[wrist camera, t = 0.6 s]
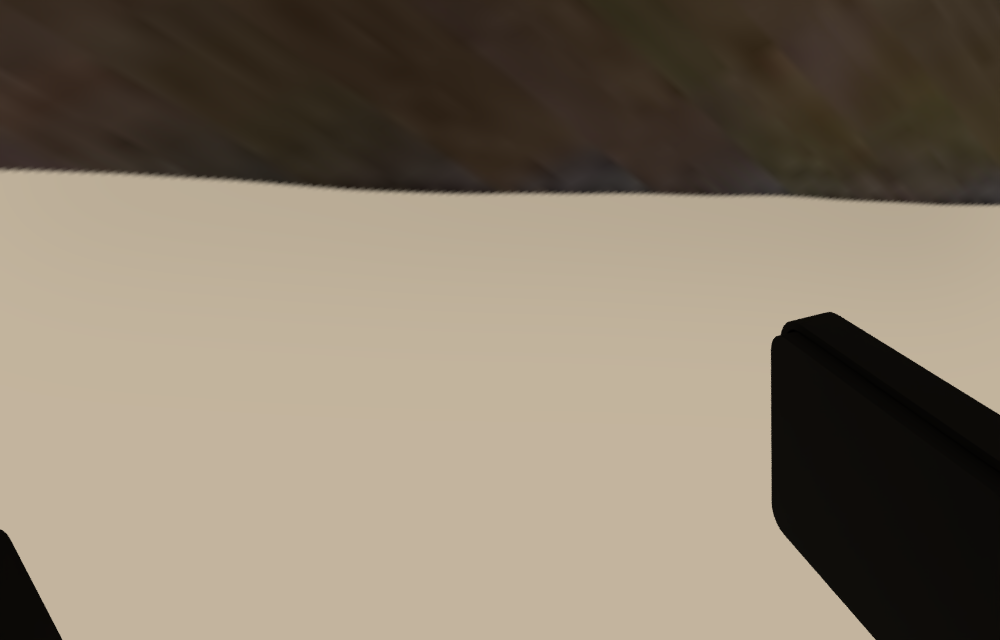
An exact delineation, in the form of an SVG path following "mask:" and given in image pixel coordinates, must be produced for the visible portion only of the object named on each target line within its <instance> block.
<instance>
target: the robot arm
mask: <svg viewBox="0 0 1000 640" xmlns="http://www.w3.org/2000/svg"><path fill="white" fill-rule="evenodd" d="M771 429H772V430H771V435H772V436H771V442H772V443H771V444H772V445H771V446H772V447H771V448H772V509H773V514H774V517H775V520H776V522H777V524H778V526H779V527H780V530H781V531H782V532H783V534H784V535H785V536H786V537H787V538H788V539H789V541H790V542H791V543H792V544H793V545H794V546H795V548H796V549H797V550H798V551H799V552H800V553H801V554H802V556H803V557H804V558H805V559H806V560H807V561H808V563H809V564H810V565H811V566H812V567H813V568H814V569H815V571H817V573H818V574H819V575H820V576H821V577H822V579H823V580H824V581H825V582H826V583H827V584H828V585H829V587H830V588H831V589H832V590H833V591H834V592H835V594H836V595H837V596H838V597H839V598H840V599H841V600H842V602H843V603H844V604H845V605H846V606H847V607H848V608H849V610H850V611H851V612H852V613H853V614H854V615H855V616H856V618H857V619H858V620H859V621H860V622H861V623H862V624H863V626H864V627H865V628H866V629H867V630H868V631H869V633H870V634H871V635H872V636H873V637H874V638H875V639H876V640H1000V415H999V414H997V413H996V412H994V411H992V410H991V409H989V408H988V407H986V406H985V405H983V404H981V403H979V402H978V401H976V400H975V399H973V398H972V397H970V396H968V395H967V394H965V393H964V392H962V391H960V390H959V389H957V388H955V387H954V386H952V385H951V384H949V383H947V382H946V381H944V380H942V379H941V378H939V377H938V376H936V375H934V374H933V373H931V372H930V371H928V370H926V369H925V368H923V367H921V366H920V365H918V364H917V363H915V362H913V361H912V360H910V359H909V358H907V357H905V356H904V355H902V354H900V353H899V352H897V351H896V350H894V349H892V348H891V347H889V346H887V345H886V344H884V343H882V342H881V341H879V340H878V339H876V338H875V337H873V336H871V335H870V334H868V333H866V332H865V331H863V330H862V329H860V328H858V327H857V326H855V325H853V324H852V323H850V322H849V321H847V320H845V319H844V318H842V317H841V316H839V315H837V314H835V313H832V312H827V313H822V314H818V315H814V316H811V317H806V318H802V319H798V320H794V321H790V322H787V323H786V324H785V325H784V327H783V329H782V332H781V335H780V336H776V337H775V338H774V339H773V341H772V346H771ZM0 640H62V638H61V636H60V634H59V633H58V631H57V629H56V627H55V625H54V623H53V621H52V619H51V617H50V615H49V613H48V611H47V609H46V607H45V606H44V603H43V602H42V600H41V598H40V596H39V594H38V592H37V590H36V588H35V586H34V584H33V582H32V581H31V578H30V576H29V575H28V573H27V571H26V569H25V567H24V565H23V563H22V561H21V559H20V557H19V555H18V553H17V551H16V549H15V548H14V546H13V544H12V542H11V540H10V538H9V537H8V535H7V534H6V533H5V532H4V531H3V530H0Z"/></svg>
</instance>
